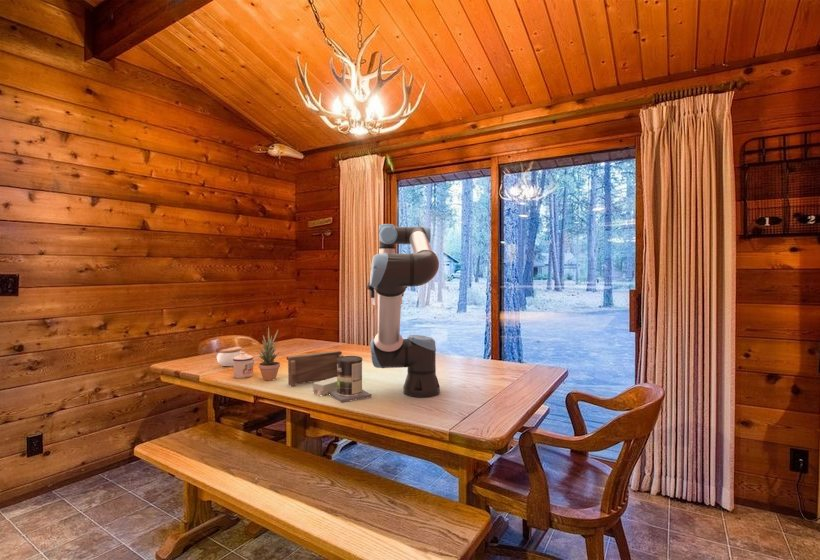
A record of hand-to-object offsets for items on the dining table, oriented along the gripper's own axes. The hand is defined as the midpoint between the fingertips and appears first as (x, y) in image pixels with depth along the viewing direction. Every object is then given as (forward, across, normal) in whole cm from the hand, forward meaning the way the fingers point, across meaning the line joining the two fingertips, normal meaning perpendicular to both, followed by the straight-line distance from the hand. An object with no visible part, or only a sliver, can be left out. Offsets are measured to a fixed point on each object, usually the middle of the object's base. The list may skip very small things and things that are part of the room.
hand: (387, 304), depth 193 cm
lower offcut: (+35, +29, +3) cm, 46 cm away
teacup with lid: (+35, +54, -44) cm, 78 cm away
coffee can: (+34, +25, +13) cm, 44 cm away
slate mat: (+35, +25, +13) cm, 45 cm away
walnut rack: (+35, +29, -15) cm, 48 cm away
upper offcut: (+33, +29, +3) cm, 44 cm away
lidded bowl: (+35, +57, -71) cm, 98 cm away
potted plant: (+35, +46, -31) cm, 65 cm away
